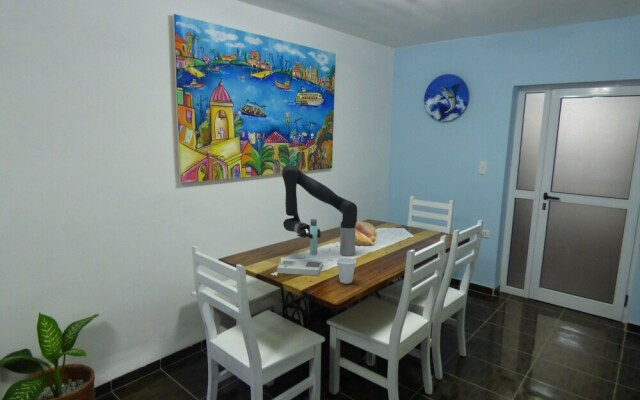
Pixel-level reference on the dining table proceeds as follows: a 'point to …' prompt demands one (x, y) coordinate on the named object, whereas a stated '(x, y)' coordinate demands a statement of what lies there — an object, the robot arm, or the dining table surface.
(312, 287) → the dining table surface
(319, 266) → the panel
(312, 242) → the plug
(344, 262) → the cup
